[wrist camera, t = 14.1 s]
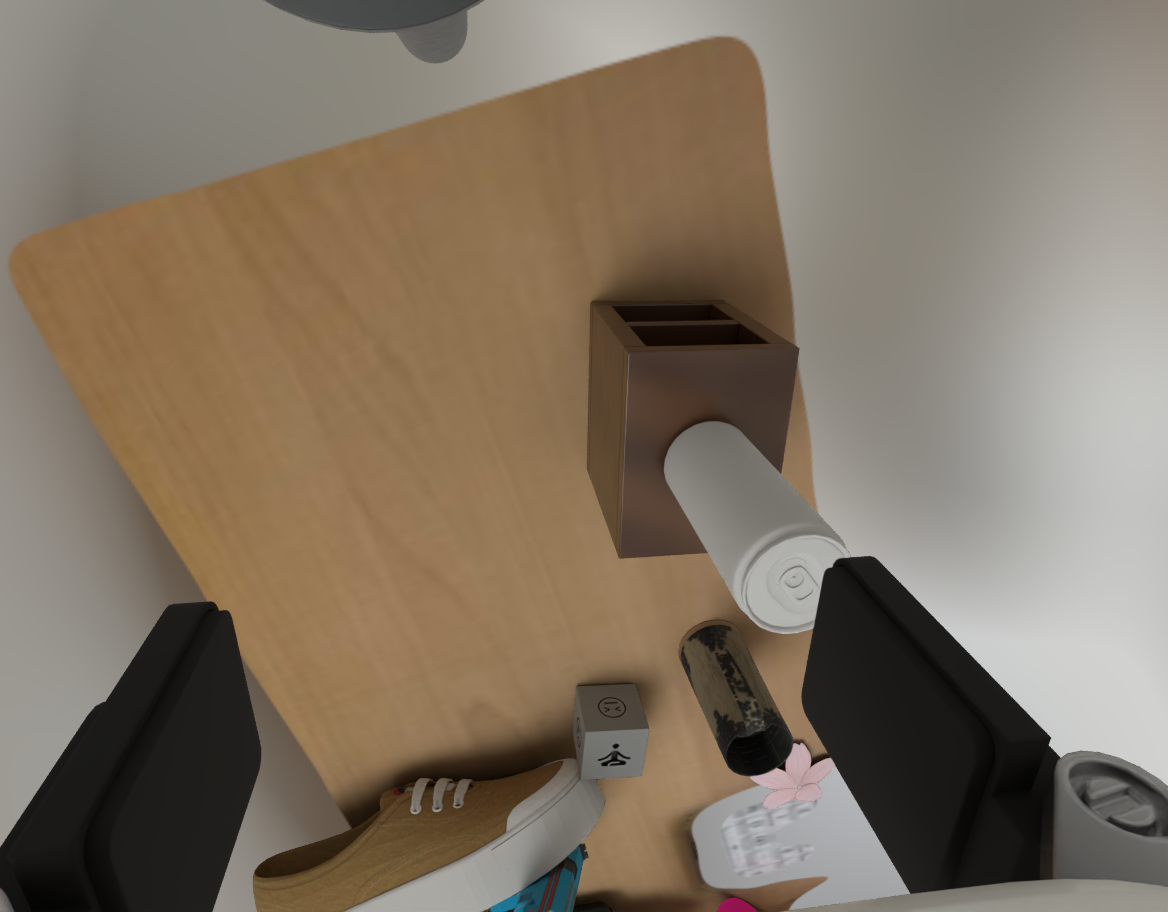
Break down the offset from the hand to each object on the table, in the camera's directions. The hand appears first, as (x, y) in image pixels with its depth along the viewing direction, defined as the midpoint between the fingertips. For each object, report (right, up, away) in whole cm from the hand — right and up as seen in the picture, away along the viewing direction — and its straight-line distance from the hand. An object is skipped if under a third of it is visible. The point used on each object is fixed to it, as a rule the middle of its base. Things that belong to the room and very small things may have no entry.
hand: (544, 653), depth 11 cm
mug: (+11, -12, +48) cm, 50 cm away
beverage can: (+7, +3, +27) cm, 28 cm away
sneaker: (-10, -33, +46) cm, 57 cm away
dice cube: (+2, -18, +49) cm, 52 cm away
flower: (+20, -28, +54) cm, 64 cm away
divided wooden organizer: (+5, +8, +38) cm, 39 cm away
